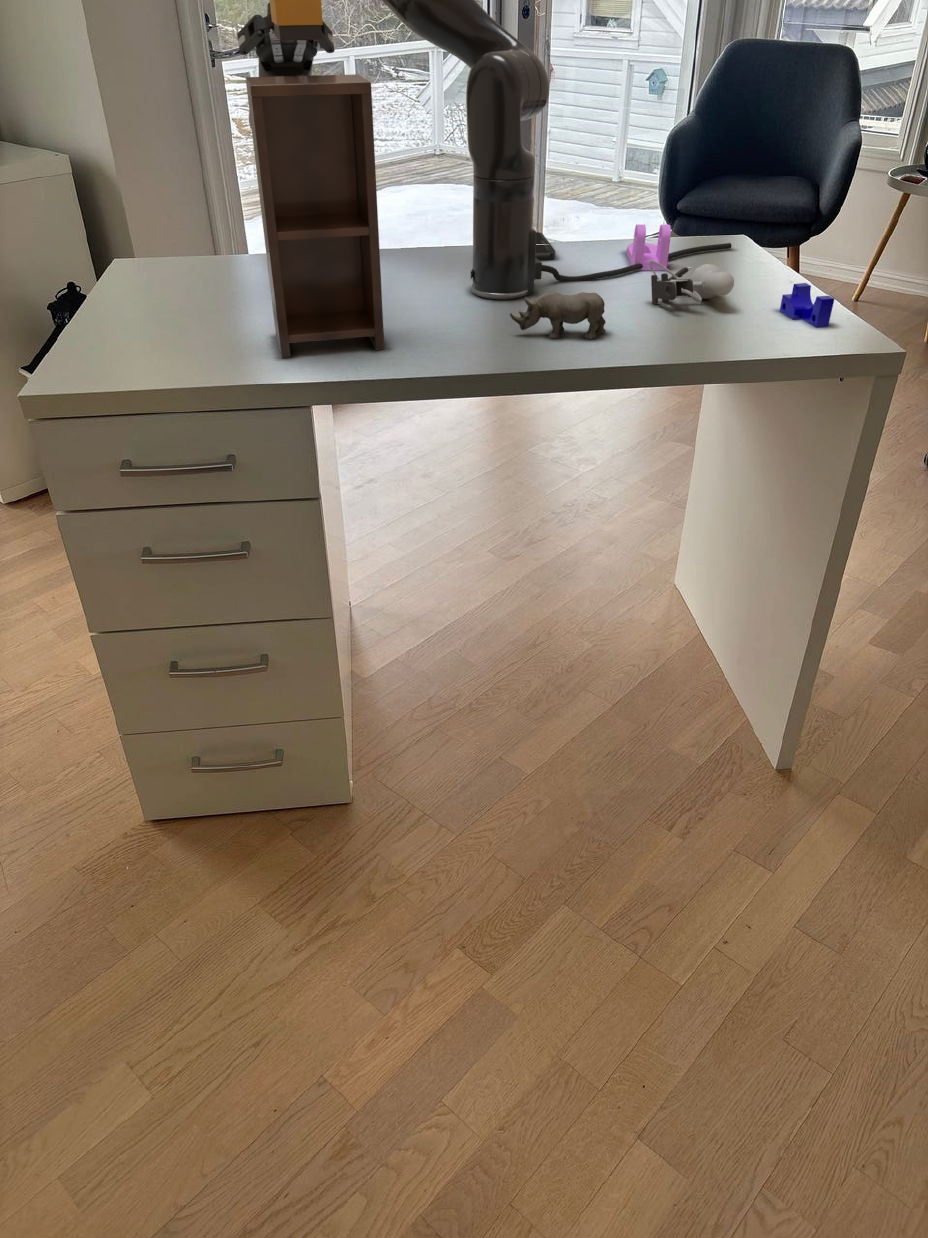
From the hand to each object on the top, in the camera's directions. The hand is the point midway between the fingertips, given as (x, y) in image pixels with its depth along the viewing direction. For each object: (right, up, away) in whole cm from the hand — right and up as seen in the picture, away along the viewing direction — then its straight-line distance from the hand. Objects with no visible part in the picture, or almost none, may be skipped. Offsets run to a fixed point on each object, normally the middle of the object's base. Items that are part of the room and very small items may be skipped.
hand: (288, 5), depth 119 cm
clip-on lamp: (+57, -28, +28) cm, 70 cm away
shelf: (+4, -40, +11) cm, 42 cm away
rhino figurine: (+36, -38, +14) cm, 54 cm away
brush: (+1, -5, -1) cm, 5 cm away
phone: (+34, -11, +52) cm, 63 cm away
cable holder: (+73, -34, +20) cm, 83 cm away
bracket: (+55, -15, +46) cm, 73 cm away
